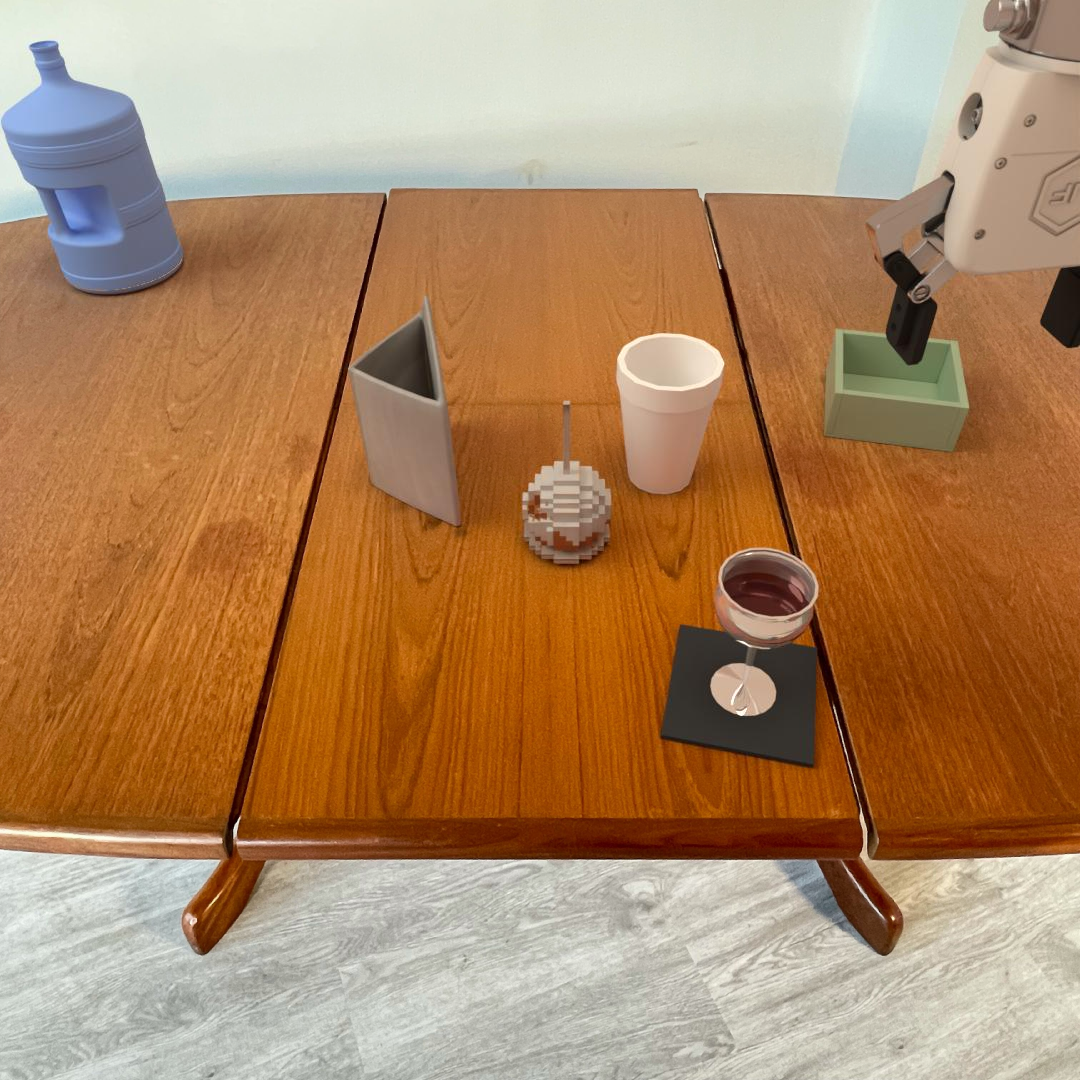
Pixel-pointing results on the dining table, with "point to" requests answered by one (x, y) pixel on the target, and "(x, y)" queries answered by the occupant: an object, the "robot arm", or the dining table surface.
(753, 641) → the wineglass
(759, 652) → the mat
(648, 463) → the foam cup
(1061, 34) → the robot arm
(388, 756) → the dining table surface
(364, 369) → the planter
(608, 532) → the decorative ornament
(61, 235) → the water jug
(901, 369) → the bin
